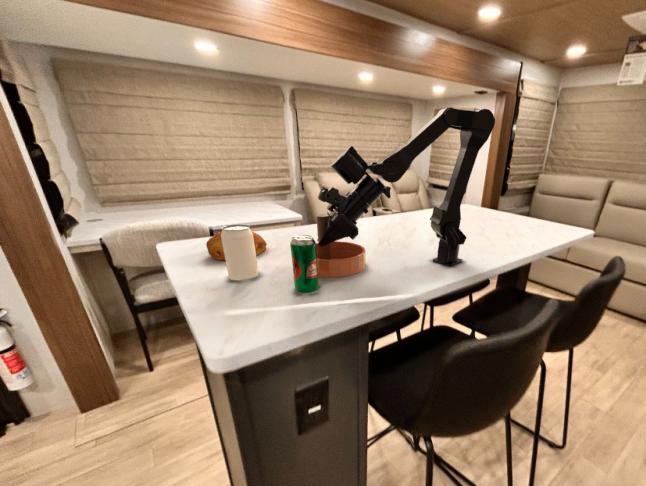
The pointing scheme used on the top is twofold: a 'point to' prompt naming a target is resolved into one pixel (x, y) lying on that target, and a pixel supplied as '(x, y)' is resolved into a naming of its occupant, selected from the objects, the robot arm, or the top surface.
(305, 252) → the soda can
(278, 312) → the top surface
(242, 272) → the can
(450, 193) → the robot arm
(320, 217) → the brown tall block
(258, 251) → the croissant
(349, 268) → the bowl
